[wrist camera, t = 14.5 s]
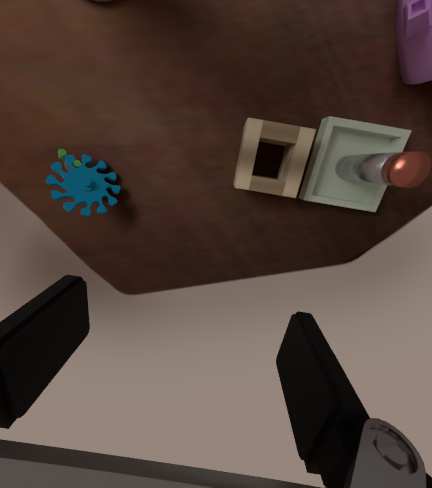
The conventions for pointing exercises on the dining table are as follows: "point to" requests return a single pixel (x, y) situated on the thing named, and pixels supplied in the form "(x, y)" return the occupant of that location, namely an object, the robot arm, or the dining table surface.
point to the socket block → (291, 163)
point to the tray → (341, 144)
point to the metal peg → (386, 168)
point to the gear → (82, 183)
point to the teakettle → (414, 40)
